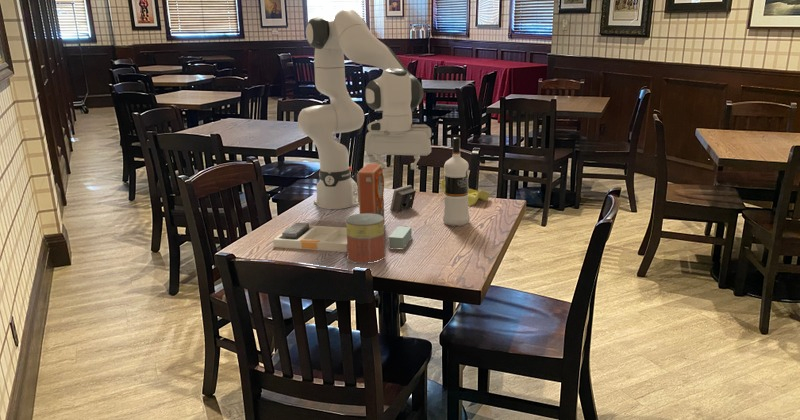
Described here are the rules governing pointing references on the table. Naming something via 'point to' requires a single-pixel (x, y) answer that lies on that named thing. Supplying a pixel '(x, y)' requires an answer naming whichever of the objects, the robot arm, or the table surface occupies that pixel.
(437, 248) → the table surface
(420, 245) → the table surface
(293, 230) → the dark grey long block
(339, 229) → the cream compartment tray
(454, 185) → the vodka
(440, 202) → the table surface
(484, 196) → the plastic component
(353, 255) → the canned food
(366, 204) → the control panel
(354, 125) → the robot arm
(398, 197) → the electrical switch
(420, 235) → the table surface
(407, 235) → the panel
